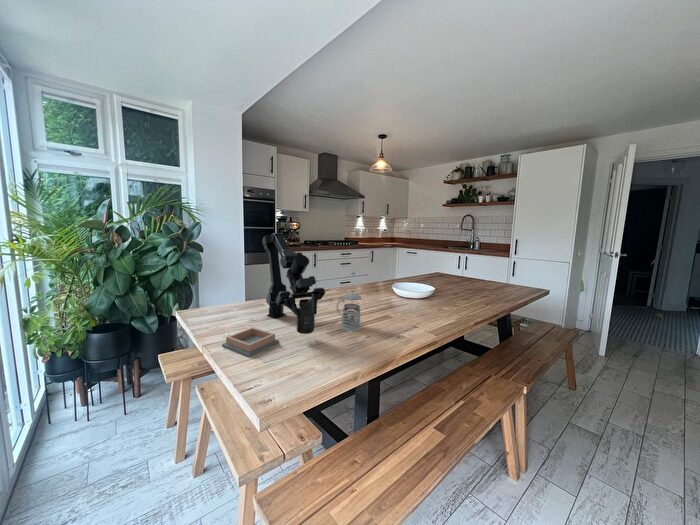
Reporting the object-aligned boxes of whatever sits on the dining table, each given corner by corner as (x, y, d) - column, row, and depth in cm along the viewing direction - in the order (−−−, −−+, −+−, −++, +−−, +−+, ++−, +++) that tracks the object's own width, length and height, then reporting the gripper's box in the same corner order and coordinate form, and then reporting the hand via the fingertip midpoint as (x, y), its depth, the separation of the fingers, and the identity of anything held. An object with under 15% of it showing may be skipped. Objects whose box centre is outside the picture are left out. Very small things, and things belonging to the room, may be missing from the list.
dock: (253, 334, 114) (253, 325, 113) (278, 342, 107) (278, 333, 106) (222, 346, 102) (221, 337, 101) (248, 357, 95) (248, 347, 94)
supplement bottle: (316, 328, 112) (316, 298, 110) (312, 335, 105) (312, 303, 103) (299, 326, 113) (299, 297, 111) (294, 333, 106) (294, 302, 104)
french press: (360, 332, 120) (362, 274, 117) (333, 329, 122) (335, 272, 119) (363, 324, 130) (366, 270, 126) (339, 321, 132) (340, 268, 129)
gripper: (278, 270, 104) (289, 308, 96) (324, 267, 114) (337, 301, 106) (271, 286, 111) (281, 323, 104) (314, 282, 121) (326, 315, 114)
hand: (307, 315), depth 107 cm, fingers closed on supplement bottle, 7 cm apart
